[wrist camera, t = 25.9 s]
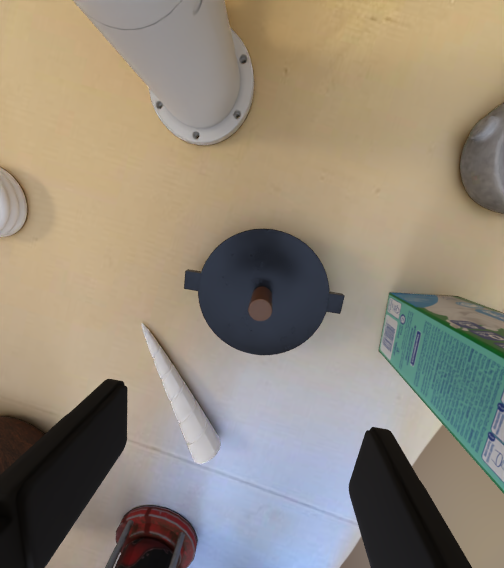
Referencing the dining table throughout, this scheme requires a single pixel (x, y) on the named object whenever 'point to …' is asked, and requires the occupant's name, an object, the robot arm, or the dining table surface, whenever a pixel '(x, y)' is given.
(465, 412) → the milk carton
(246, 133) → the dining table surface
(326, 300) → the pot lid
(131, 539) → the hourglass
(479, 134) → the dish
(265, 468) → the dining table surface
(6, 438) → the wooden bowl
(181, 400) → the unicorn horn
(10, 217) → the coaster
